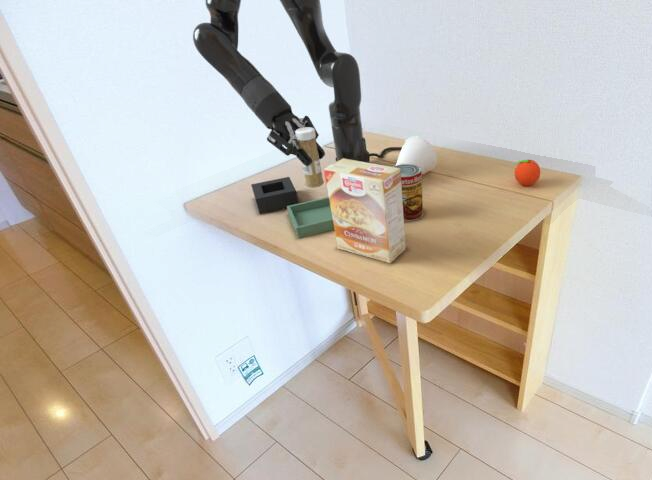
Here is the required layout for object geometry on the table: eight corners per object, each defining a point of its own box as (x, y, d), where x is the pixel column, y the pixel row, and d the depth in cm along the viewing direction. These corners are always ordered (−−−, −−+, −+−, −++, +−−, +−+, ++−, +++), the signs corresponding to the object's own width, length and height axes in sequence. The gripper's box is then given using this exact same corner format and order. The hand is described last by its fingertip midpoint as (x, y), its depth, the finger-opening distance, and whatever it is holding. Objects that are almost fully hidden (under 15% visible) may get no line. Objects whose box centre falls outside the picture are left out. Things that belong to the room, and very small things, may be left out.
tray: (344, 203, 122) (342, 193, 120) (358, 223, 112) (357, 213, 110) (288, 215, 118) (286, 206, 116) (298, 238, 108) (295, 228, 106)
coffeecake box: (336, 249, 103) (322, 168, 91) (354, 235, 107) (342, 157, 95) (390, 264, 96) (382, 180, 84) (406, 249, 101) (401, 166, 89)
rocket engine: (384, 163, 117) (417, 128, 126) (365, 181, 127) (397, 148, 136) (414, 195, 120) (444, 159, 129) (392, 210, 130) (422, 176, 139)
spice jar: (327, 184, 109) (317, 129, 100) (310, 190, 107) (299, 133, 98) (319, 179, 112) (309, 125, 103) (302, 184, 110) (291, 129, 101)
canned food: (401, 224, 110) (398, 178, 103) (387, 212, 116) (383, 168, 108) (428, 216, 113) (427, 171, 105) (413, 204, 118) (411, 161, 111)
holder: (292, 191, 131) (289, 176, 128) (299, 205, 123) (296, 190, 120) (255, 198, 128) (251, 184, 125) (259, 214, 120) (255, 199, 117)
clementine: (508, 188, 123) (510, 163, 118) (511, 178, 128) (513, 154, 123) (537, 190, 120) (541, 165, 116) (539, 180, 125) (543, 156, 121)
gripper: (249, 99, 94) (304, 161, 97) (292, 84, 104) (341, 140, 106) (239, 122, 100) (291, 180, 102) (280, 105, 109) (327, 159, 112)
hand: (316, 160), depth 104 cm, fingers closed on spice jar, 4 cm apart
